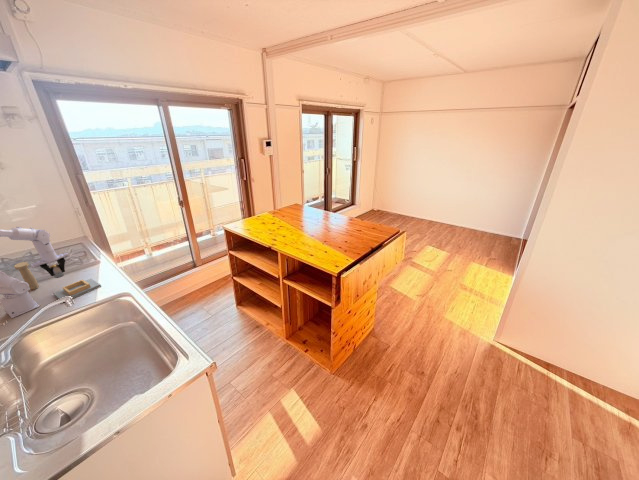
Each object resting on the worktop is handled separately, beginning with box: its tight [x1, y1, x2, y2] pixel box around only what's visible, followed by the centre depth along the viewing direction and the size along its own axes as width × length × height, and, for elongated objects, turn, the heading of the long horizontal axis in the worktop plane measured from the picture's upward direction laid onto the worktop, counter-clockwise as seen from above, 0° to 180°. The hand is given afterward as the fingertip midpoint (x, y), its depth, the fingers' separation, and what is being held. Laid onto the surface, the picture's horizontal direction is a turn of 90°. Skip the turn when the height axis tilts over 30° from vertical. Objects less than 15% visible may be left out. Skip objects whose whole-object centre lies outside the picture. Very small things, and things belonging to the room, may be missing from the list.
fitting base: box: [53, 278, 102, 299], centre depth 134 cm, size 16×12×3 cm
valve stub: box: [49, 263, 65, 279], centre depth 135 cm, size 4×4×7 cm
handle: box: [13, 261, 40, 291], centre depth 134 cm, size 5×6×15 cm
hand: (58, 273), depth 135 cm, fingers closed on valve stub, 4 cm apart
